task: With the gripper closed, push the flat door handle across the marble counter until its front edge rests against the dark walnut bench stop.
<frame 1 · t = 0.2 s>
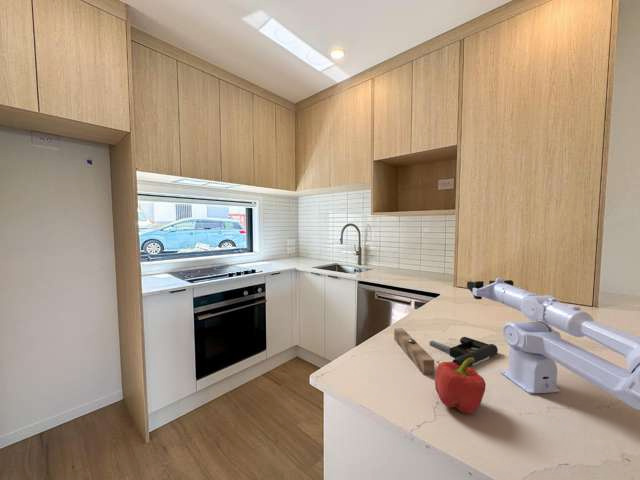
hand: (479, 284, 88), 21 cm above the worktop, tool horizontal, fingers open, 7 cm apart
vegetable: (458, 404, 61), on the worktop
bench stop: (411, 354, 83), on the worktop
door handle: (459, 354, 85), on the worktop
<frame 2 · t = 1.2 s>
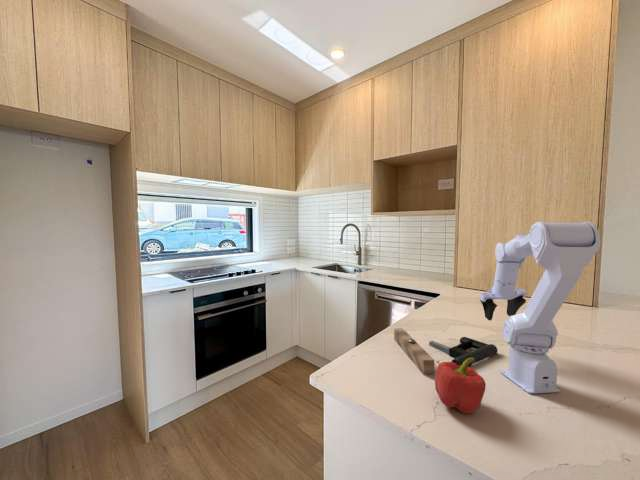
hand: (499, 317, 87), 10 cm above the worktop, tool pointing down, fingers open, 7 cm apart
nothing on the worktop moved.
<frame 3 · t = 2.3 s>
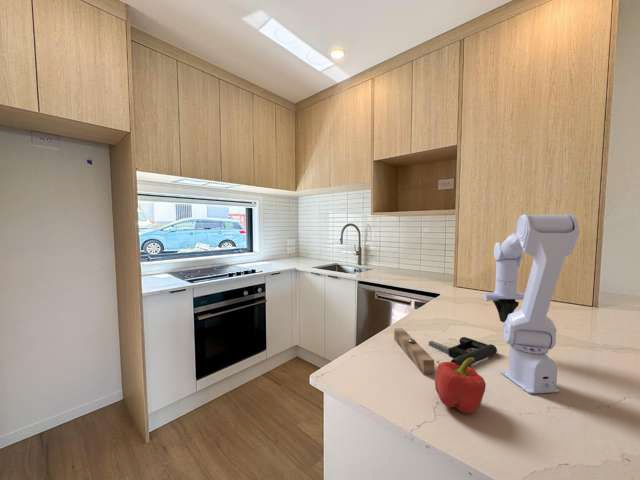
hand: (504, 321, 86), 9 cm above the worktop, tool pointing down, fingers closed
nothing on the worktop moved.
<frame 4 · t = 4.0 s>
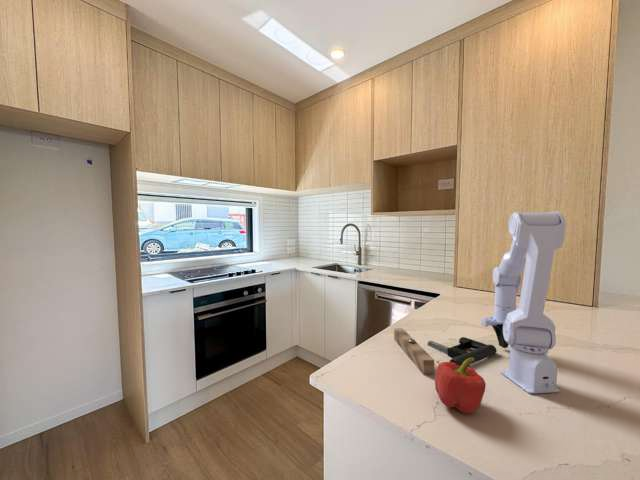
hand: (503, 346, 86), 1 cm above the worktop, tool pointing down, fingers closed
nothing on the worktop moved.
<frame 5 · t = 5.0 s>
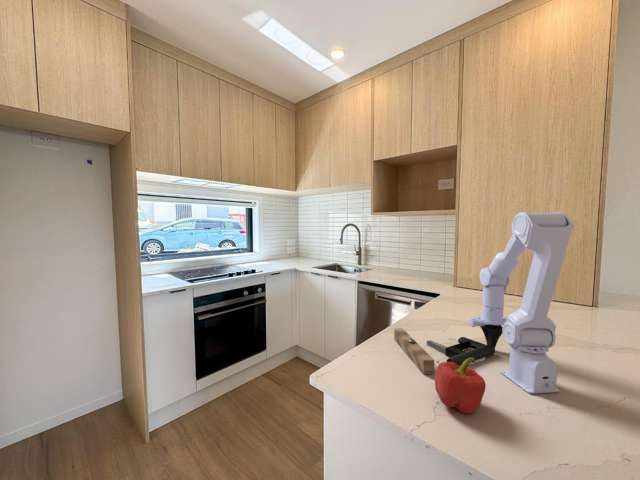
hand: (491, 347, 86), 1 cm above the worktop, tool pointing down, fingers closed
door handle: (455, 354, 85), on the worktop, touching gripper
everything else where it was.
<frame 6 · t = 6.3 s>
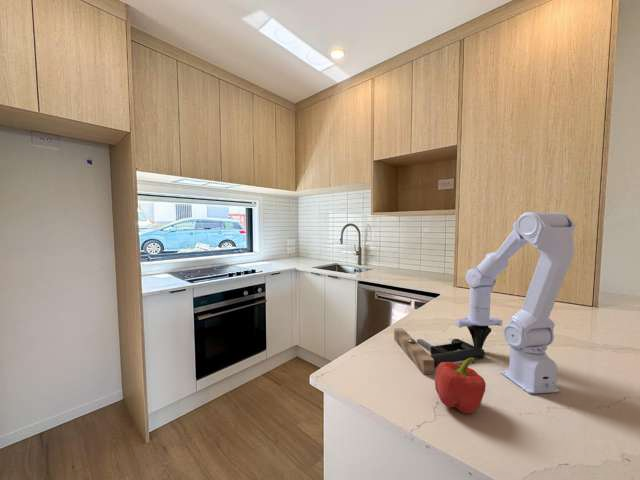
hand: (477, 347, 85), 1 cm above the worktop, tool pointing down, fingers closed
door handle: (443, 354, 85), on the worktop
everything else where it was.
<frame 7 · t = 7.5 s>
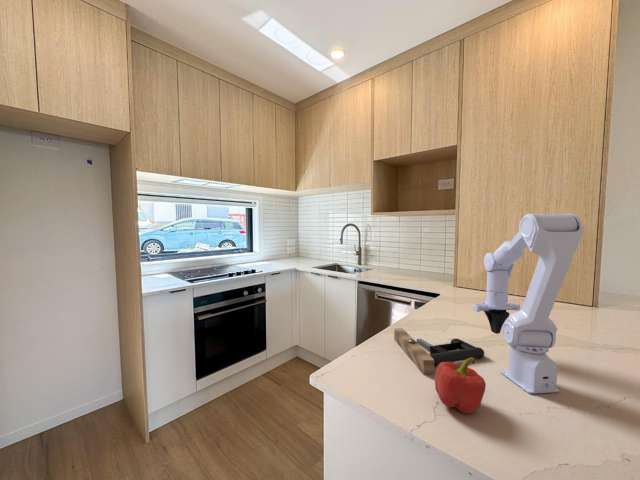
hand: (495, 332, 85), 6 cm above the worktop, tool pointing down, fingers closed
nothing on the worktop moved.
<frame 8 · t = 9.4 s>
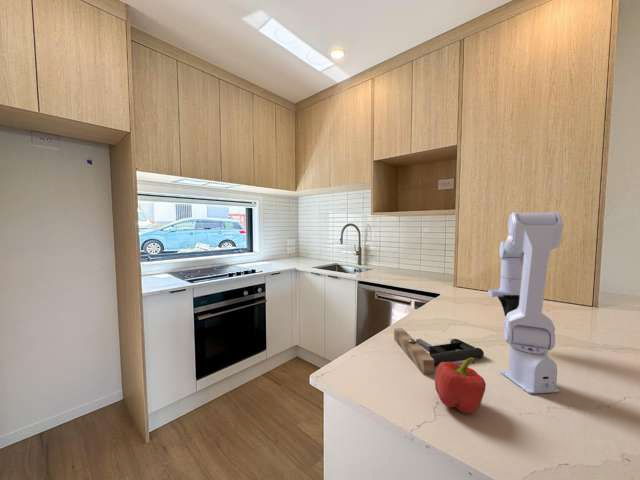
hand: (508, 317, 90), 9 cm above the worktop, tool pointing down, fingers closed
nothing on the worktop moved.
at the end: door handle 1.1 cm from the target spot, on the worktop; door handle moved 5.5 cm from its start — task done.
